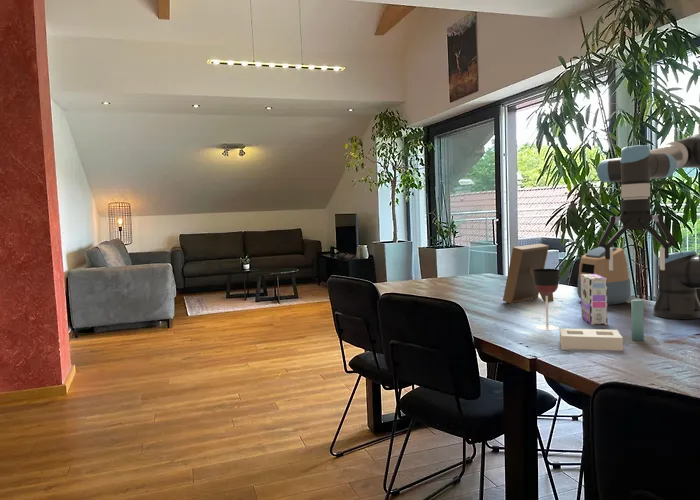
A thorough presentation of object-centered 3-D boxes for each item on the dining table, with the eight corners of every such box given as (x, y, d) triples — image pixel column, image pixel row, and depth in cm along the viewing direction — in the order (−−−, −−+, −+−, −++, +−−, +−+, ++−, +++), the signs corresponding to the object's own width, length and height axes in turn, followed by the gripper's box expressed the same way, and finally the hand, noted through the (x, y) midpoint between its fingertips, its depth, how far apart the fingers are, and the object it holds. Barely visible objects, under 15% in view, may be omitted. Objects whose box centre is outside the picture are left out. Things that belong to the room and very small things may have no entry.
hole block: (617, 342, 156) (617, 329, 156) (622, 351, 147) (622, 337, 147) (559, 341, 162) (559, 328, 161) (561, 349, 152) (561, 336, 152)
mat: (652, 337, 160) (652, 336, 160) (660, 345, 151) (660, 344, 151) (616, 336, 164) (616, 335, 164) (622, 344, 154) (622, 343, 154)
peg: (642, 338, 158) (642, 299, 157) (644, 341, 155) (644, 301, 154) (630, 338, 159) (630, 299, 158) (632, 341, 156) (632, 301, 155)
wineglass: (538, 324, 186) (537, 268, 185) (564, 326, 181) (562, 269, 179) (530, 328, 180) (529, 271, 179) (556, 331, 175) (555, 271, 173)
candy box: (608, 325, 179) (607, 278, 178) (590, 325, 180) (589, 278, 179) (597, 317, 193) (597, 273, 192) (580, 317, 194) (579, 273, 193)
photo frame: (502, 302, 231) (501, 246, 229) (529, 296, 245) (529, 243, 243) (533, 306, 219) (532, 247, 218) (559, 299, 233) (559, 243, 231)
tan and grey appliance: (573, 300, 228) (572, 247, 227) (608, 297, 231) (607, 245, 230) (598, 306, 212) (597, 250, 210) (635, 303, 215) (634, 247, 213)
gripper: (680, 196, 154) (681, 268, 155) (588, 201, 162) (589, 269, 163) (687, 196, 147) (688, 271, 148) (590, 200, 155) (591, 271, 156)
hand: (636, 270), depth 156 cm, fingers open, 13 cm apart
